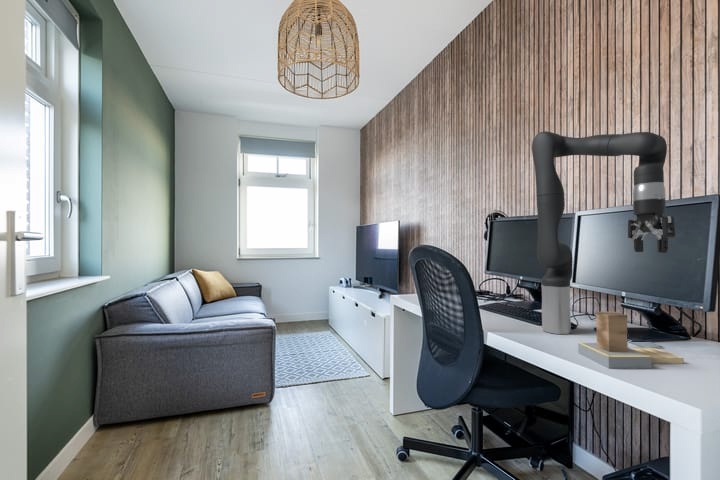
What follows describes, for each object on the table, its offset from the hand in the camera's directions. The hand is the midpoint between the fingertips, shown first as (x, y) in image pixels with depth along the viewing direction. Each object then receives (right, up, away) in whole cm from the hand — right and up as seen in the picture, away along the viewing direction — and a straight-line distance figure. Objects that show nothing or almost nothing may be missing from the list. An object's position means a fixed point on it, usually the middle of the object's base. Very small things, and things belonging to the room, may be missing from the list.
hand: (650, 252), depth 103 cm
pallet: (-5, -30, -5) cm, 31 cm away
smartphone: (+4, -31, +10) cm, 33 cm away
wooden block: (-17, -27, -7) cm, 33 cm away
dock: (-17, -30, -7) cm, 35 cm away
